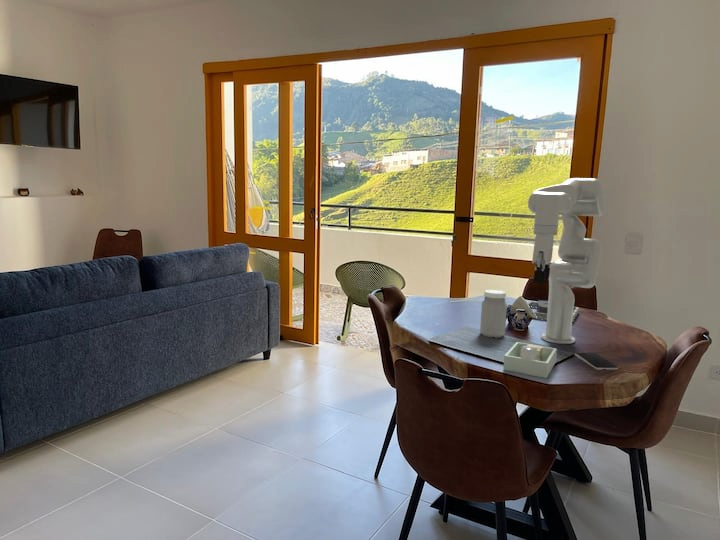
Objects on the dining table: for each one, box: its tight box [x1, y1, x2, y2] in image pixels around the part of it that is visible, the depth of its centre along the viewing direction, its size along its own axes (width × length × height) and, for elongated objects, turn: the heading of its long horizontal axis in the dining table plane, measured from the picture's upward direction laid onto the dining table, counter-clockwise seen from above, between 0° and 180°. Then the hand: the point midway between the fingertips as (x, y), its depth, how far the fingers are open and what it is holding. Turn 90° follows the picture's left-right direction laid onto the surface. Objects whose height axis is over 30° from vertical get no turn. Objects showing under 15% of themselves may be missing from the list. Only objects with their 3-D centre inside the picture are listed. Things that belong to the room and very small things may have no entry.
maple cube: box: [527, 344, 543, 361], centre depth 179 cm, size 5×5×5 cm
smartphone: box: [574, 352, 619, 371], centre depth 182 cm, size 8×1×15 cm
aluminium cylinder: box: [520, 346, 537, 360], centre depth 172 cm, size 5×5×7 cm
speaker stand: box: [527, 301, 580, 323], centre depth 246 cm, size 23×23×3 cm
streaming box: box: [536, 300, 548, 314], centre depth 247 cm, size 14×14×5 cm
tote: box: [503, 341, 558, 379], centre depth 176 cm, size 18×14×5 cm
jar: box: [479, 288, 508, 339], centre depth 210 cm, size 10×10×18 cm
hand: (541, 280), depth 178 cm, fingers open, 9 cm apart
